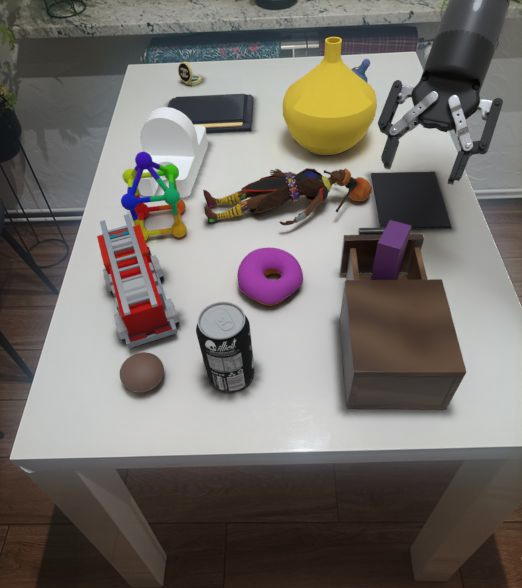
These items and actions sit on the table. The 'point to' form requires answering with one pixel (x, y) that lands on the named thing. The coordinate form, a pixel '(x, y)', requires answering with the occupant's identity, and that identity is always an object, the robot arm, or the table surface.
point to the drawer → (363, 250)
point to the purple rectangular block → (390, 251)
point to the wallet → (217, 111)
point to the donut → (268, 263)
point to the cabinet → (399, 345)
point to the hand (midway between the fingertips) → (418, 175)
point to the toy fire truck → (135, 285)
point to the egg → (141, 372)
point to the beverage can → (226, 345)
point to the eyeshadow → (188, 74)
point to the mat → (410, 200)
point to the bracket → (173, 148)
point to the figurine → (288, 193)
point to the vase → (329, 105)
